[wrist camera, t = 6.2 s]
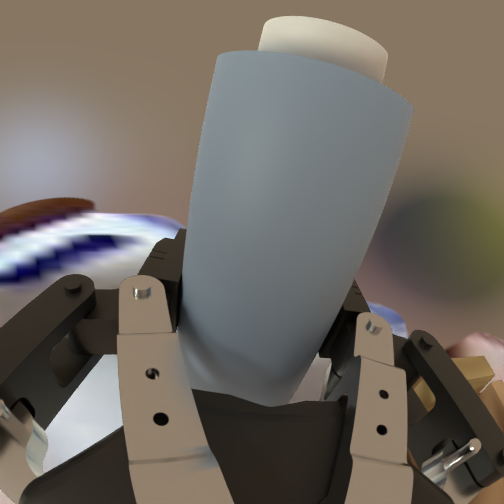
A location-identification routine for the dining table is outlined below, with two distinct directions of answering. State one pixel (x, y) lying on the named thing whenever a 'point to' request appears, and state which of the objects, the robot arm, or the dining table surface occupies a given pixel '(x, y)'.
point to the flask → (284, 203)
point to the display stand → (494, 398)
